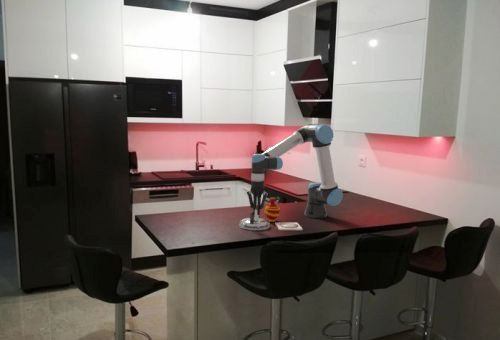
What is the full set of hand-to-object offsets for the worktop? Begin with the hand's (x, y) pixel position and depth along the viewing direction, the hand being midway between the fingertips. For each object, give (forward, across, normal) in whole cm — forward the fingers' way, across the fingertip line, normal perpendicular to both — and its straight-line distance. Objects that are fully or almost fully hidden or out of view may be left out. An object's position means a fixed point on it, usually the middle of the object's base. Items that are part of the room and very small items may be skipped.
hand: (256, 220), depth 243 cm
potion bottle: (+6, 0, -26) cm, 26 cm away
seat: (+6, -15, -16) cm, 23 cm away
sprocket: (+5, +4, -7) cm, 10 cm away
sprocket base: (+6, +4, -8) cm, 10 cm away
